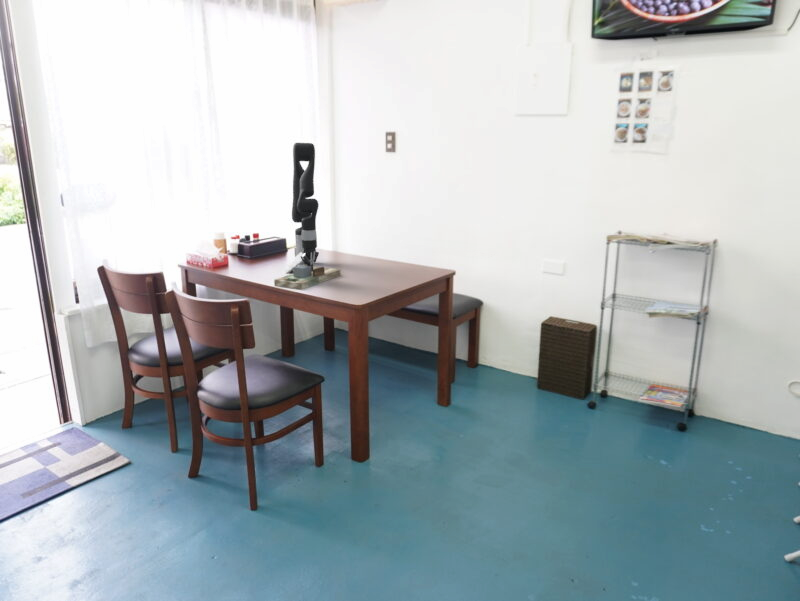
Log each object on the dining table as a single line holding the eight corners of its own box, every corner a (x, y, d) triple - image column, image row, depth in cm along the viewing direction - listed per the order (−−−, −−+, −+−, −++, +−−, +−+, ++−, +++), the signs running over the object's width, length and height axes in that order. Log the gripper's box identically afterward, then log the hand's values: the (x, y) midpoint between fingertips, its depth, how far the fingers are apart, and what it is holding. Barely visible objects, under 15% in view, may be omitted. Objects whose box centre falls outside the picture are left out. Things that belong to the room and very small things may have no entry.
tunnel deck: (274, 285, 281) (273, 272, 279) (316, 271, 311) (315, 260, 309) (300, 289, 274) (300, 276, 272) (340, 275, 304) (340, 263, 302)
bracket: (301, 251, 325) (304, 258, 307) (312, 264, 329) (316, 272, 310) (283, 265, 325) (285, 273, 306) (294, 278, 328) (297, 287, 310)
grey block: (293, 276, 286) (293, 267, 284) (302, 274, 292) (301, 264, 290) (303, 278, 283) (303, 268, 282) (311, 275, 289) (311, 265, 288)
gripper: (310, 235, 295) (312, 268, 299) (295, 239, 283) (296, 273, 288) (322, 237, 291) (323, 269, 296) (307, 241, 280) (308, 275, 285)
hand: (310, 271), depth 292 cm, fingers closed
